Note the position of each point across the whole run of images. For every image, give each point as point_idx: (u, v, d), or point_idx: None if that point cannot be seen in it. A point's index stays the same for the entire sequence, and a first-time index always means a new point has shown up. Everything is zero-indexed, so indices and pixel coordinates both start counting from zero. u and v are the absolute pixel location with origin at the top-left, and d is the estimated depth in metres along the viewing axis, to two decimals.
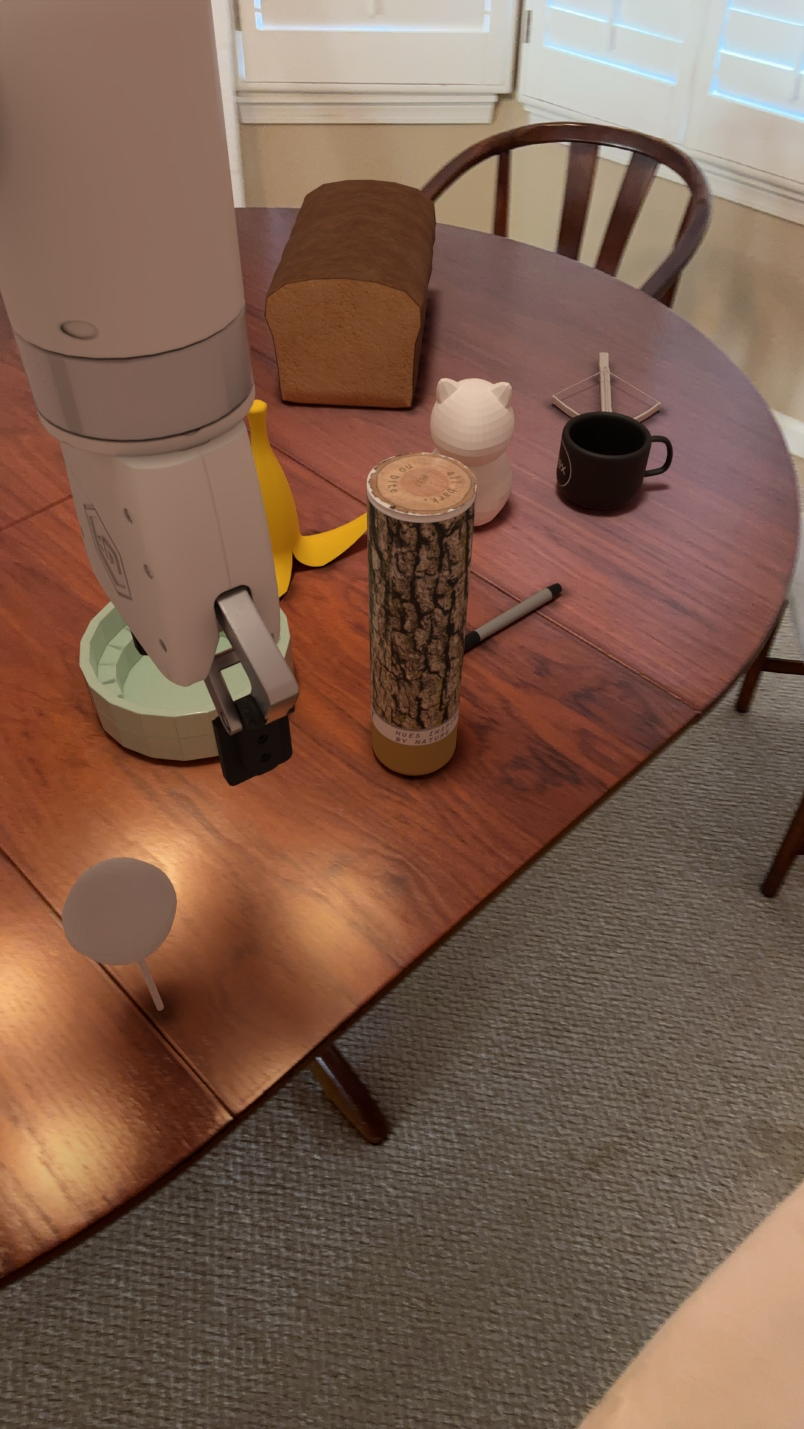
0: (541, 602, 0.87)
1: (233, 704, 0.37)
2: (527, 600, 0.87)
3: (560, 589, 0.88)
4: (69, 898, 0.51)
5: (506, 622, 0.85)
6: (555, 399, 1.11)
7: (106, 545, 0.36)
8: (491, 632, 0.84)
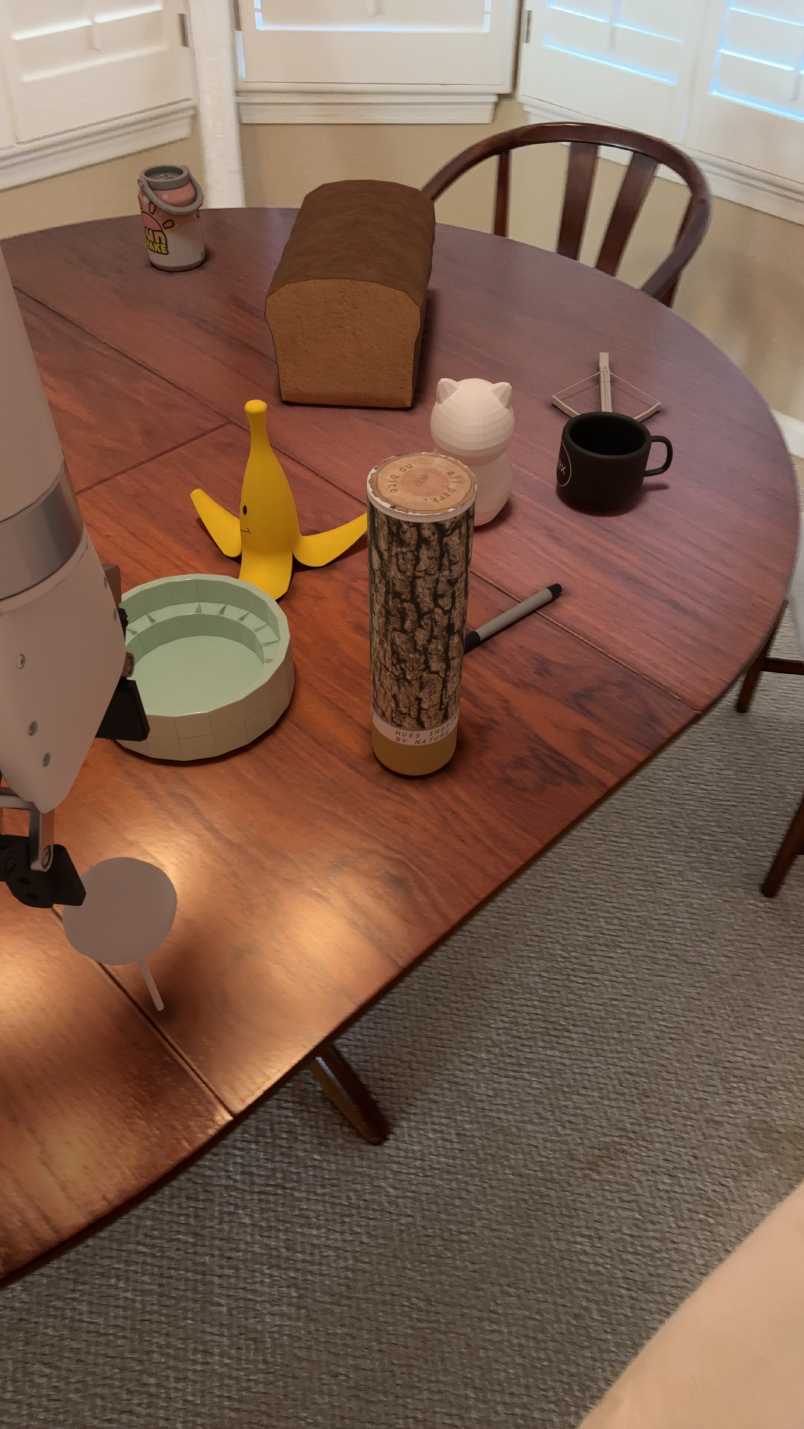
0: (540, 602, 0.87)
1: None
2: (527, 600, 0.87)
3: (560, 589, 0.88)
4: None
5: (506, 622, 0.85)
6: (555, 399, 1.11)
7: None
8: (491, 632, 0.84)
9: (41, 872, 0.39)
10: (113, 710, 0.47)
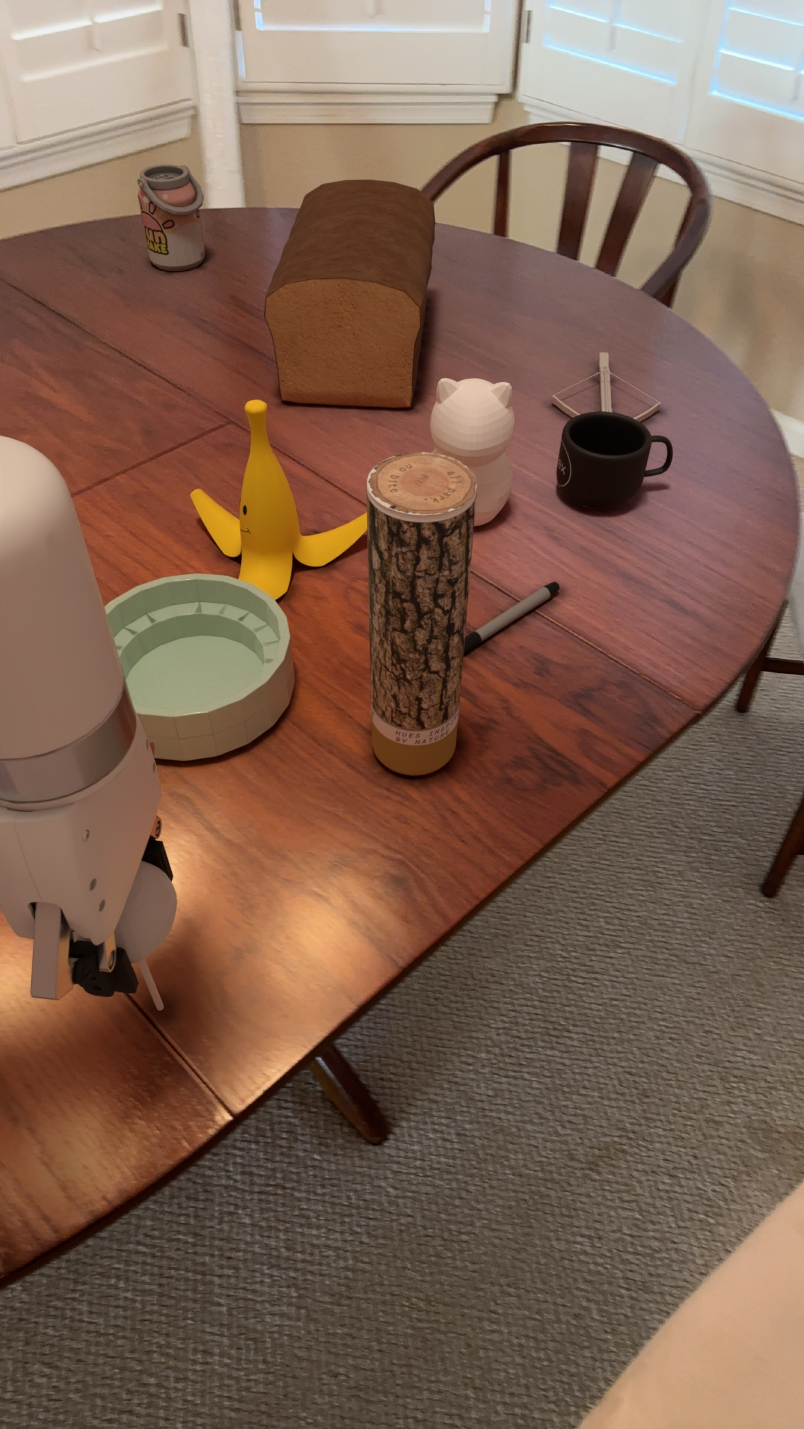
0: (539, 600, 0.87)
1: None
2: (526, 599, 0.87)
3: (558, 588, 0.88)
4: None
5: (506, 622, 0.85)
6: (555, 399, 1.11)
7: None
8: (491, 632, 0.84)
9: None
10: None
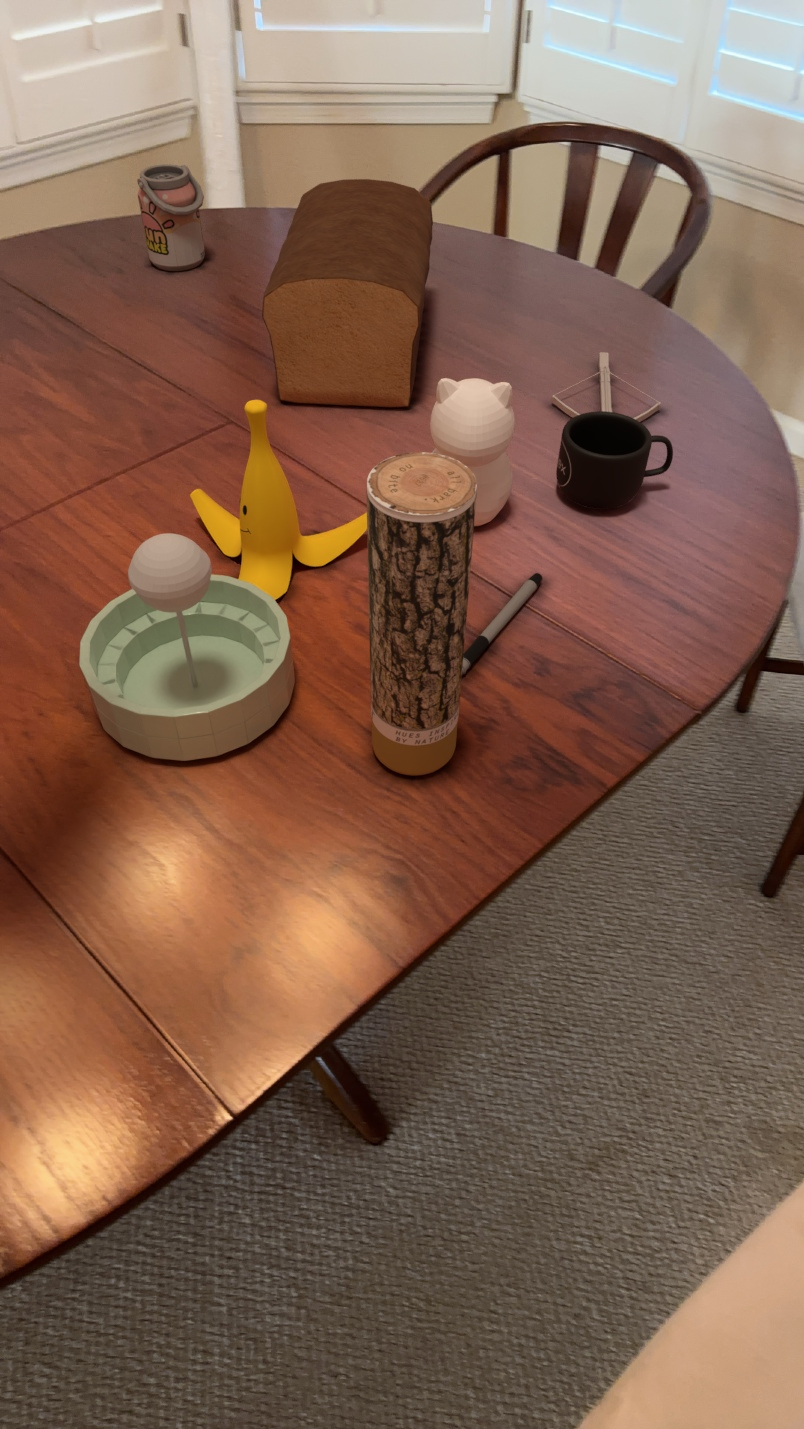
0: (529, 594, 0.88)
1: None
2: (517, 595, 0.87)
3: (541, 578, 0.89)
4: (134, 556, 0.69)
5: (506, 620, 0.85)
6: (555, 399, 1.11)
7: None
8: (496, 633, 0.84)
9: None
10: None
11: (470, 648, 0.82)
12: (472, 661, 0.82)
